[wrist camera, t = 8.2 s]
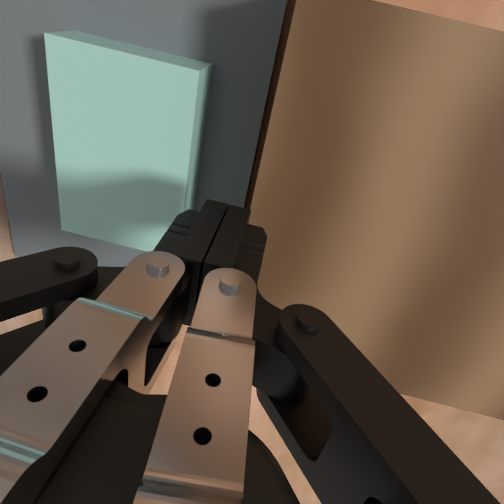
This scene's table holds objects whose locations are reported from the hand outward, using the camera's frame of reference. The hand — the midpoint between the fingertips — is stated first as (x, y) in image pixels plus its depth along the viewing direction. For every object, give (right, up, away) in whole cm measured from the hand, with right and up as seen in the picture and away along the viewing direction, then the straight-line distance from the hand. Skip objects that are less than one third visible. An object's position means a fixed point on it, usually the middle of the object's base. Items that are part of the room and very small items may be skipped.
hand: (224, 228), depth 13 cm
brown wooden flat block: (+9, +1, +4) cm, 10 cm away
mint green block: (-4, +3, +2) cm, 6 cm away
